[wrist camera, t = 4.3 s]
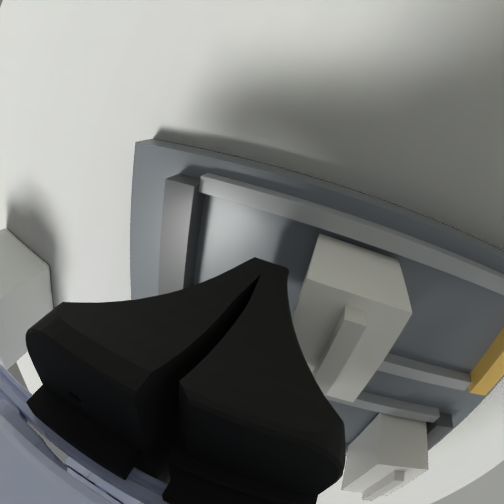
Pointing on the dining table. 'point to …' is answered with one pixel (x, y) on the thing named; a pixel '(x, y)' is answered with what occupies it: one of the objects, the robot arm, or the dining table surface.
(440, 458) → the dining table surface
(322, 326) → the tab
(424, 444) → the tab
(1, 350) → the medicine bottle
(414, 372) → the switch board
